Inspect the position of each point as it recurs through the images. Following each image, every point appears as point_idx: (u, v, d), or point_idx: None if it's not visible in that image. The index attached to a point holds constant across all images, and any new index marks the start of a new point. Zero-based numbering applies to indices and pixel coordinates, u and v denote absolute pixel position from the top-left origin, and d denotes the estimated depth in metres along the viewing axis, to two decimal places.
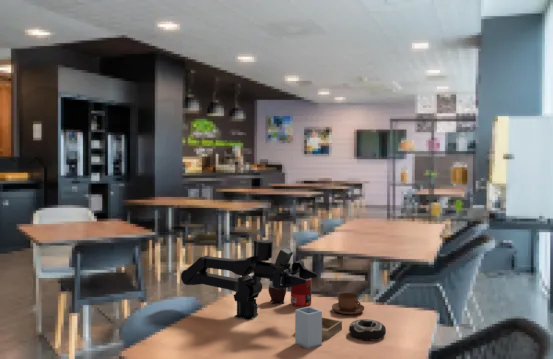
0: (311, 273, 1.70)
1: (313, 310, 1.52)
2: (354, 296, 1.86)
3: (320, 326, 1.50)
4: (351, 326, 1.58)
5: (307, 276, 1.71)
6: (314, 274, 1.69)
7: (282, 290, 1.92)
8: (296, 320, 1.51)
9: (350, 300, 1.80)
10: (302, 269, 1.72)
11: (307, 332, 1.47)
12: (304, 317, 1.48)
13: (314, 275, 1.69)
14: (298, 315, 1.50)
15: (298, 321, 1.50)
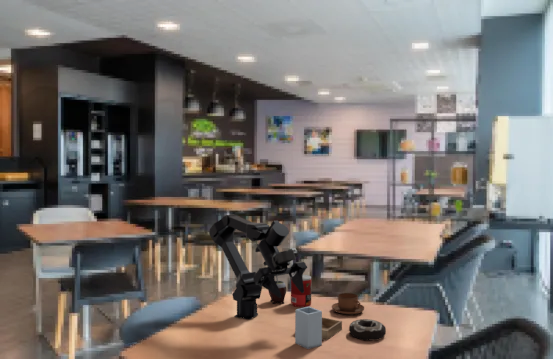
0: (300, 286, 1.60)
1: (313, 310, 1.52)
2: (354, 296, 1.86)
3: (320, 326, 1.50)
4: (351, 326, 1.58)
5: (297, 283, 1.62)
6: (301, 289, 1.60)
7: (282, 290, 1.92)
8: (296, 320, 1.51)
9: (350, 300, 1.80)
10: (297, 275, 1.62)
11: (307, 332, 1.47)
12: (304, 317, 1.48)
13: (301, 290, 1.60)
14: (298, 315, 1.50)
15: (298, 321, 1.50)
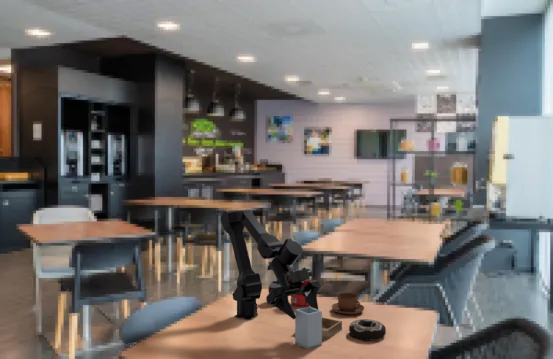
0: (315, 306, 1.55)
1: (313, 310, 1.52)
2: (354, 296, 1.86)
3: (320, 326, 1.50)
4: (351, 326, 1.58)
5: (311, 303, 1.57)
6: None
7: None
8: (296, 320, 1.51)
9: (350, 300, 1.80)
10: (311, 295, 1.57)
11: (307, 332, 1.47)
12: (304, 317, 1.48)
13: None
14: (298, 315, 1.50)
15: (298, 321, 1.50)
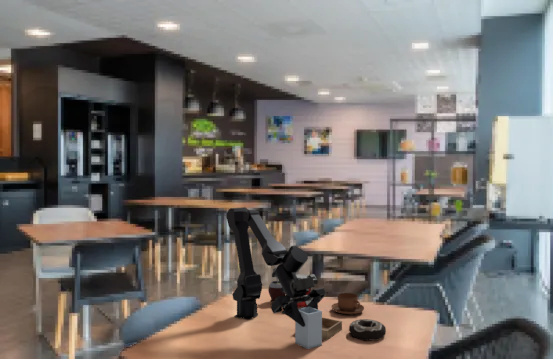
0: None
1: (313, 310, 1.52)
2: (354, 296, 1.86)
3: (320, 326, 1.50)
4: (351, 326, 1.58)
5: None
6: None
7: None
8: None
9: (350, 300, 1.80)
10: (312, 303, 1.54)
11: (307, 332, 1.47)
12: (304, 317, 1.48)
13: None
14: None
15: None
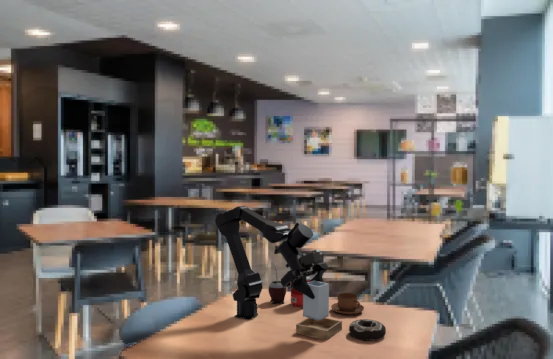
0: None
1: (320, 283, 1.58)
2: (353, 296, 1.86)
3: (327, 298, 1.56)
4: (351, 326, 1.58)
5: None
6: None
7: (282, 290, 1.92)
8: None
9: (350, 300, 1.80)
10: (317, 277, 1.60)
11: (317, 304, 1.52)
12: (314, 290, 1.53)
13: None
14: None
15: None
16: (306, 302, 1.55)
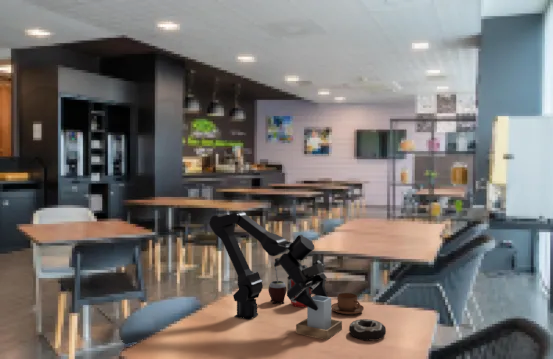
0: None
1: (322, 298, 1.64)
2: (353, 296, 1.86)
3: (330, 312, 1.62)
4: (351, 326, 1.58)
5: (320, 295, 1.67)
6: None
7: (282, 290, 1.92)
8: (308, 308, 1.61)
9: (350, 300, 1.80)
10: (321, 287, 1.67)
11: (323, 318, 1.58)
12: (319, 305, 1.59)
13: None
14: None
15: (311, 309, 1.60)
16: (311, 317, 1.60)
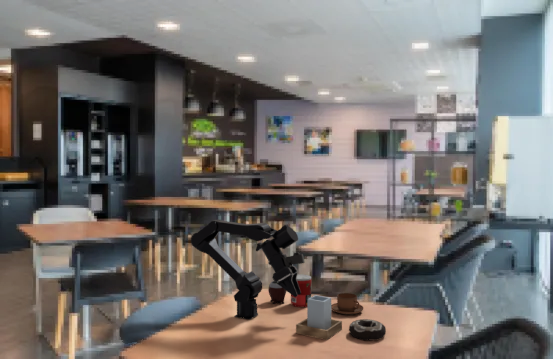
0: (297, 288, 1.73)
1: (322, 298, 1.64)
2: (353, 296, 1.86)
3: (330, 312, 1.62)
4: (351, 326, 1.58)
5: None
6: (299, 291, 1.73)
7: (282, 290, 1.92)
8: (308, 308, 1.61)
9: (349, 300, 1.80)
10: (294, 278, 1.74)
11: (323, 318, 1.58)
12: (319, 305, 1.59)
13: (298, 292, 1.73)
14: (311, 304, 1.60)
15: (311, 309, 1.60)
16: (311, 317, 1.60)
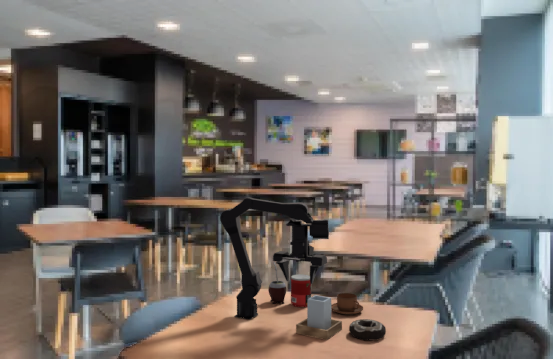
0: (288, 275, 1.77)
1: (322, 298, 1.64)
2: (353, 296, 1.86)
3: (330, 312, 1.62)
4: (351, 326, 1.58)
5: (285, 270, 1.76)
6: (288, 278, 1.77)
7: (282, 290, 1.92)
8: (308, 308, 1.61)
9: (349, 300, 1.80)
10: (288, 264, 1.77)
11: (323, 318, 1.58)
12: (319, 305, 1.59)
13: (288, 278, 1.76)
14: (311, 304, 1.60)
15: (311, 309, 1.60)
16: (311, 317, 1.60)
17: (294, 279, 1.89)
